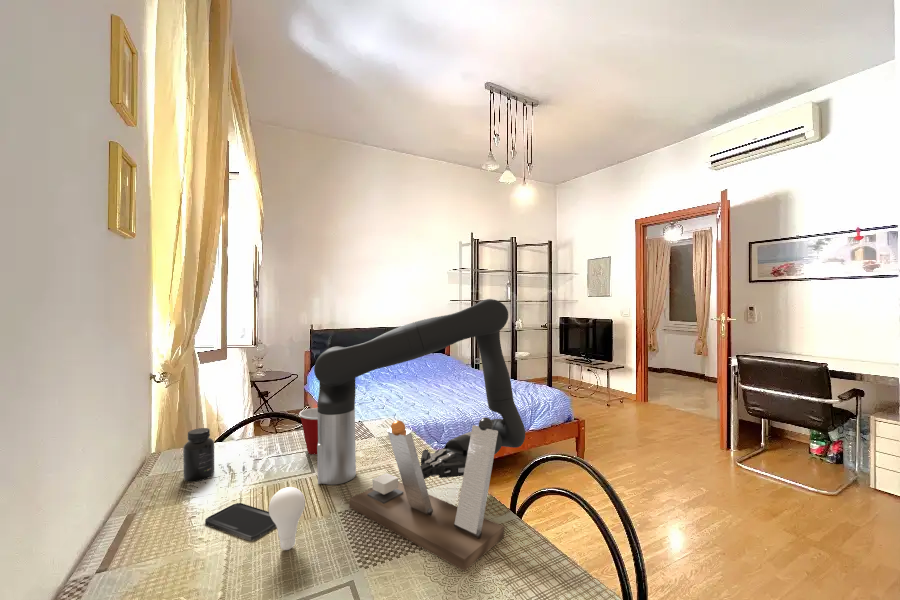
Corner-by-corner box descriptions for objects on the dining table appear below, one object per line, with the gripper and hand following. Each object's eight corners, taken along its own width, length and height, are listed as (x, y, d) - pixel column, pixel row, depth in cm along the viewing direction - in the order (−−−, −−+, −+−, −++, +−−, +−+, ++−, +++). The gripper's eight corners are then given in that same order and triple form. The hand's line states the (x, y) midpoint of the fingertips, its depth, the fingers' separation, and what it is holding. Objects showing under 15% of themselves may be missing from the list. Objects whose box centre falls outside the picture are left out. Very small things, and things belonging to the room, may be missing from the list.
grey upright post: (459, 526, 74) (479, 415, 79) (483, 537, 70) (502, 420, 76) (450, 527, 72) (471, 414, 77) (474, 539, 68) (495, 419, 74)
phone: (237, 502, 86) (286, 517, 80) (237, 507, 86) (286, 522, 80) (202, 520, 79) (252, 538, 73) (202, 525, 79) (252, 544, 73)
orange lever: (416, 500, 82) (391, 415, 77) (436, 509, 78) (411, 420, 73) (407, 510, 80) (381, 422, 75) (427, 519, 76) (400, 428, 71)
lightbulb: (292, 562, 67) (291, 498, 67) (261, 558, 68) (260, 495, 68) (312, 540, 73) (311, 482, 73) (283, 537, 74) (282, 479, 74)
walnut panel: (391, 486, 94) (391, 477, 94) (504, 536, 73) (503, 524, 73) (349, 507, 85) (349, 496, 85) (464, 571, 64) (464, 556, 64)
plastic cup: (330, 458, 112) (330, 416, 112) (293, 458, 112) (292, 416, 112) (341, 444, 123) (341, 406, 123) (307, 444, 123) (307, 406, 123)
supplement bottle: (177, 480, 100) (176, 433, 100) (202, 469, 106) (202, 425, 106) (195, 484, 97) (194, 436, 97) (220, 473, 103) (220, 427, 103)
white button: (386, 486, 89) (386, 472, 89) (398, 491, 86) (398, 477, 86) (372, 492, 86) (372, 479, 86) (384, 498, 83) (384, 484, 83)
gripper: (446, 429, 96) (393, 449, 82) (491, 440, 87) (440, 465, 74) (446, 459, 96) (393, 484, 82) (491, 474, 87) (440, 505, 74)
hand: (415, 475), depth 78 cm, fingers closed
